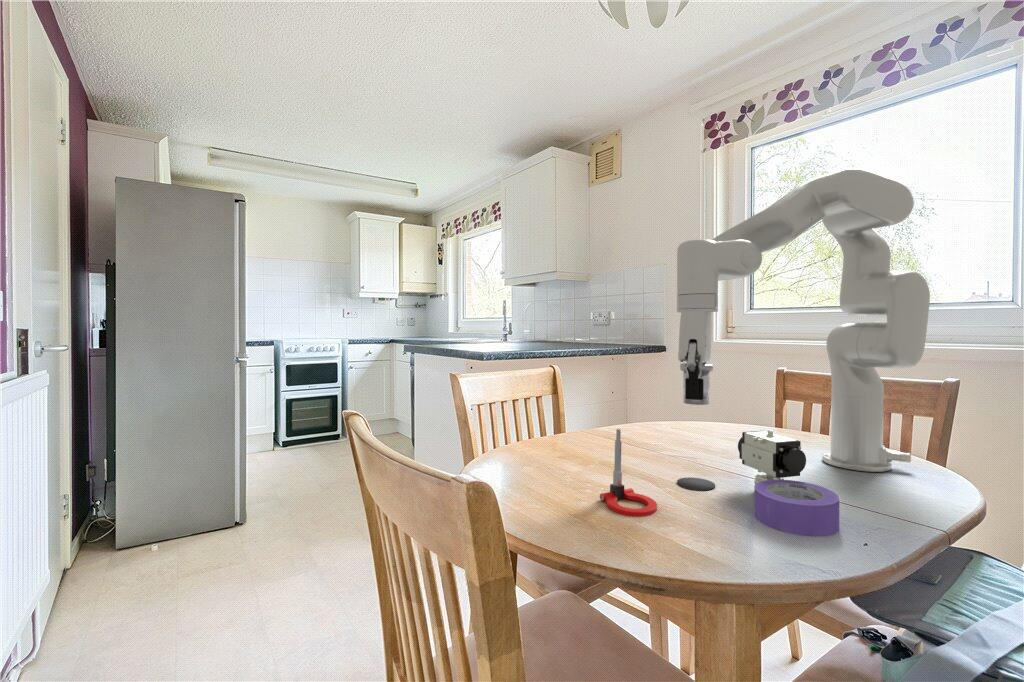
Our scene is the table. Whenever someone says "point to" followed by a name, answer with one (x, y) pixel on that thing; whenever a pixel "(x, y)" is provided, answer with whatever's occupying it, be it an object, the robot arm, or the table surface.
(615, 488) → the tow hook
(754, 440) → the pneumatic valve
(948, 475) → the table surface
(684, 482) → the pad
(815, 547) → the table surface
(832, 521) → the tape roll
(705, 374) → the cylinder
